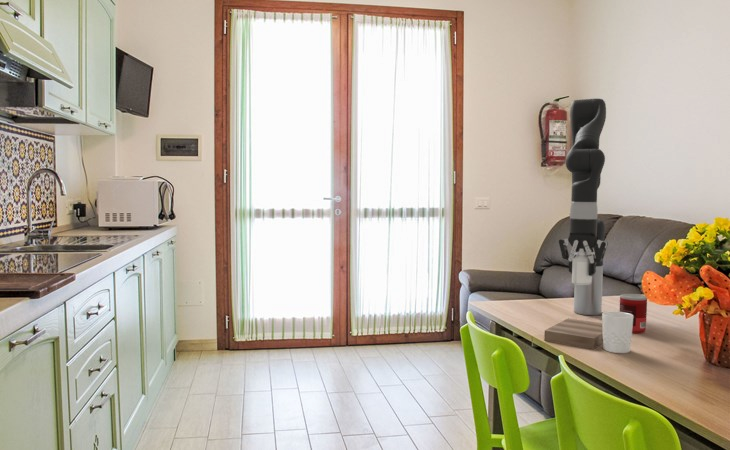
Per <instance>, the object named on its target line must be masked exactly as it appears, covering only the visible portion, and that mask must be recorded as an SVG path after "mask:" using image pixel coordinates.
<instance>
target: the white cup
mask: <svg viewBox="0 0 730 450" xmlns="http://www.w3.org/2000/svg"><path fill="white" fill-rule="evenodd" d="M601 315H602V316H601V319H602V320H601V323H602V333H603V343H602V349H603V350H604V351H606V352H609V353H614V354H627V353H630V352H631V351H630V350H631V343H632V337H633V333H632V328H633V315H632V314H629V313H625V312H620V311H617V310H614V311H613V310H612V311H611V310H610V311H603V312H601Z"/></svg>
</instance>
